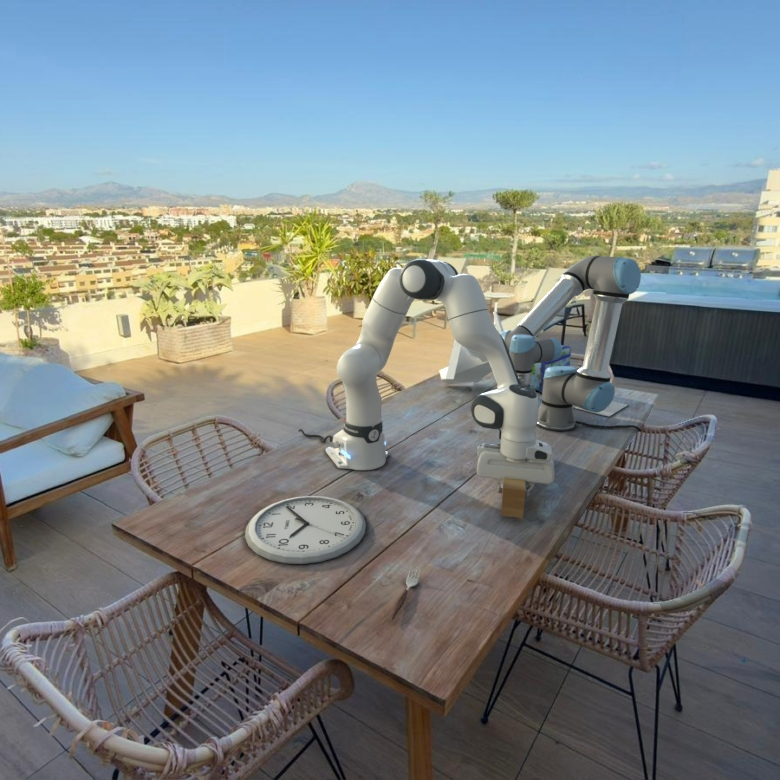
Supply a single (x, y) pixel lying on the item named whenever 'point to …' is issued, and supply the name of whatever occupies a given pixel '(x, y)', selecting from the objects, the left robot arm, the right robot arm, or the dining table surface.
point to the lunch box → (540, 368)
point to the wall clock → (305, 530)
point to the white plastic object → (467, 363)
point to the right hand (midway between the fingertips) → (512, 449)
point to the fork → (410, 583)
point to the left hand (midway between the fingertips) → (512, 493)
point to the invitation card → (609, 409)
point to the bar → (513, 497)
